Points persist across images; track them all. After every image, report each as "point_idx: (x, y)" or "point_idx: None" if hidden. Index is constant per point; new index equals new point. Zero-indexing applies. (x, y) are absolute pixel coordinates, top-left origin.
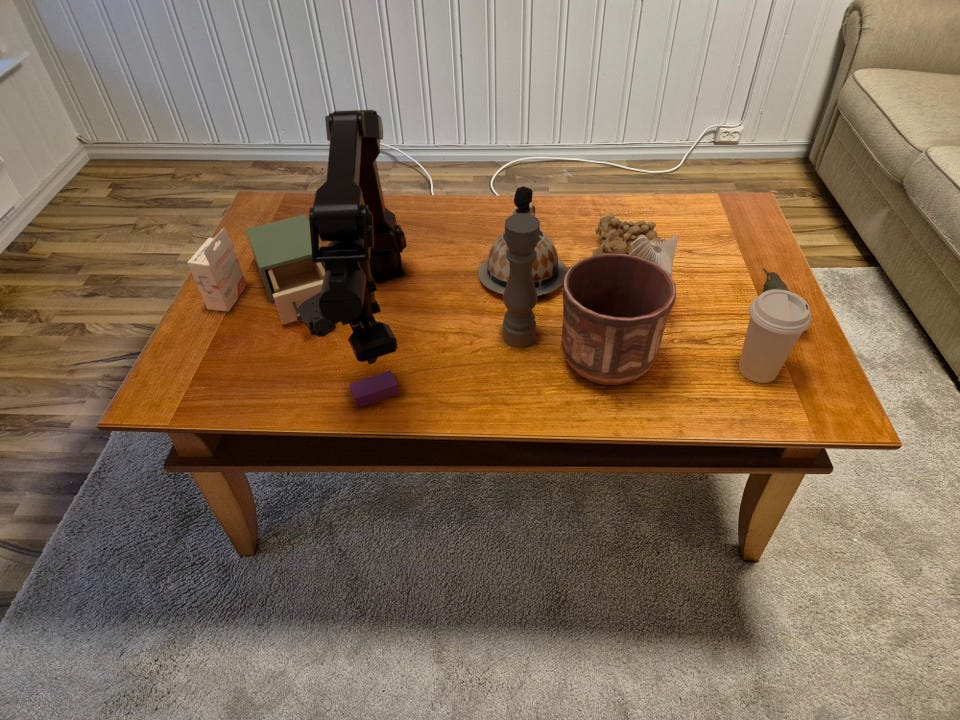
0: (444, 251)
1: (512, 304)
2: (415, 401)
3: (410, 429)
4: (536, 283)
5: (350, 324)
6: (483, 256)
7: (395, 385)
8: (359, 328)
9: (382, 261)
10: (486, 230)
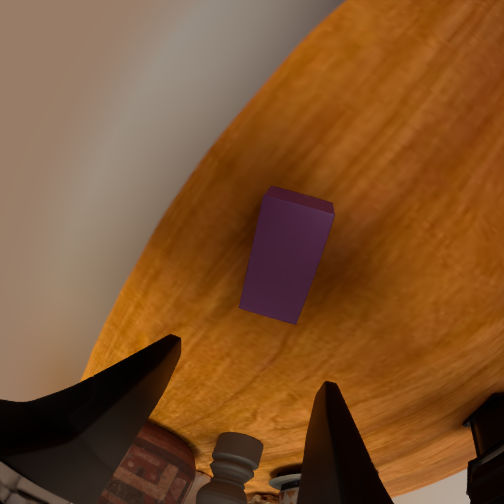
0: (436, 457)
1: (208, 497)
2: (207, 297)
3: (147, 245)
4: (282, 488)
5: (339, 490)
6: (387, 473)
7: (240, 302)
8: (318, 464)
9: (494, 433)
10: (409, 480)
